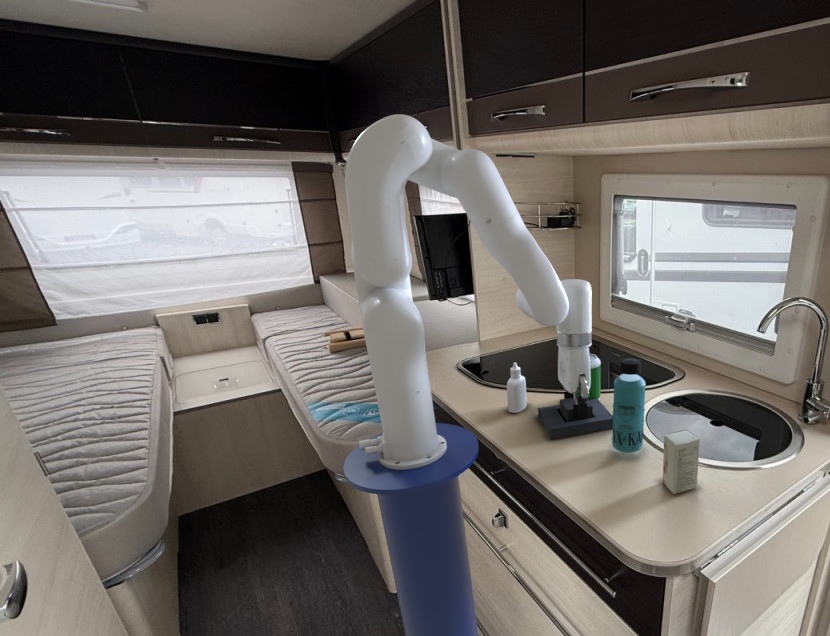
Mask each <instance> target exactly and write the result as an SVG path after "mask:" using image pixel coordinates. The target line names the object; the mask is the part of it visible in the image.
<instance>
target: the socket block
mask: <svg viewBox="0 0 830 636" xmlns="http://www.w3.org/2000/svg"><path fill="white" fill-rule="evenodd" d="M588 401H589V402H590V404H591V405H592V406H593V418H588V419H582V420H576V421H570V422H567V421H565V419H564V416H563V415H562V413H561V412H560V404H555V405H549V406H542V407H537V417H538V420H539V422H540V424H541V425H542V427H543V428H544V430H545V432H546V434H547V435H548V437H549V439H550V440H555V439H561V438H567V437H571V436H578V435H583V434H589V433H594V432H600V431H605V430H610V429H611V430H612V429H613V426H612V423H613V416H612V415H613V413H611V412H610V411H609V410H608V408H606V406H605V405H603V403H602V402H601V401H600V400H598V399H593V400H588Z"/></svg>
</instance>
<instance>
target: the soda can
mask: <svg viewBox="0 0 830 636" xmlns="http://www.w3.org/2000/svg"><path fill="white" fill-rule="evenodd" d="M589 356H590V373H591V384H590V389H589V390H588V392H589V397H588V400H593V399H598V400H599V401H600V400H601V365H602V364H601V363H602V362H601V359H600V358H599V357H598V356H597V355H596V354H594V353H589ZM577 390H581V389H580V387H578V388H577ZM579 396H581V393H578V397H579Z"/></svg>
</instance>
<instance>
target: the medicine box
mask: <svg viewBox="0 0 830 636" xmlns="http://www.w3.org/2000/svg"><path fill="white" fill-rule="evenodd" d="M700 443H701V439H700V437H697V435H695V434H694V433H693V432H692V431H690V430H689V429H687V428H686V429H682V430H681V429H680V430H677V431H673V432H669V433H666V434H663V459H662V461H663V462H662V463H663V464H662V466H663V467H662V483H663V484H664V485H665V486H666V487H667V489H668V490H669V491H670V492H671V493H672V494H673V495H675V494H676V495H677V494H679V493H683V492H686V491H690V490H693V489H696V488H697V487H698V476H699V475H698V474H699V473H698V472H699V461H700Z"/></svg>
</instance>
